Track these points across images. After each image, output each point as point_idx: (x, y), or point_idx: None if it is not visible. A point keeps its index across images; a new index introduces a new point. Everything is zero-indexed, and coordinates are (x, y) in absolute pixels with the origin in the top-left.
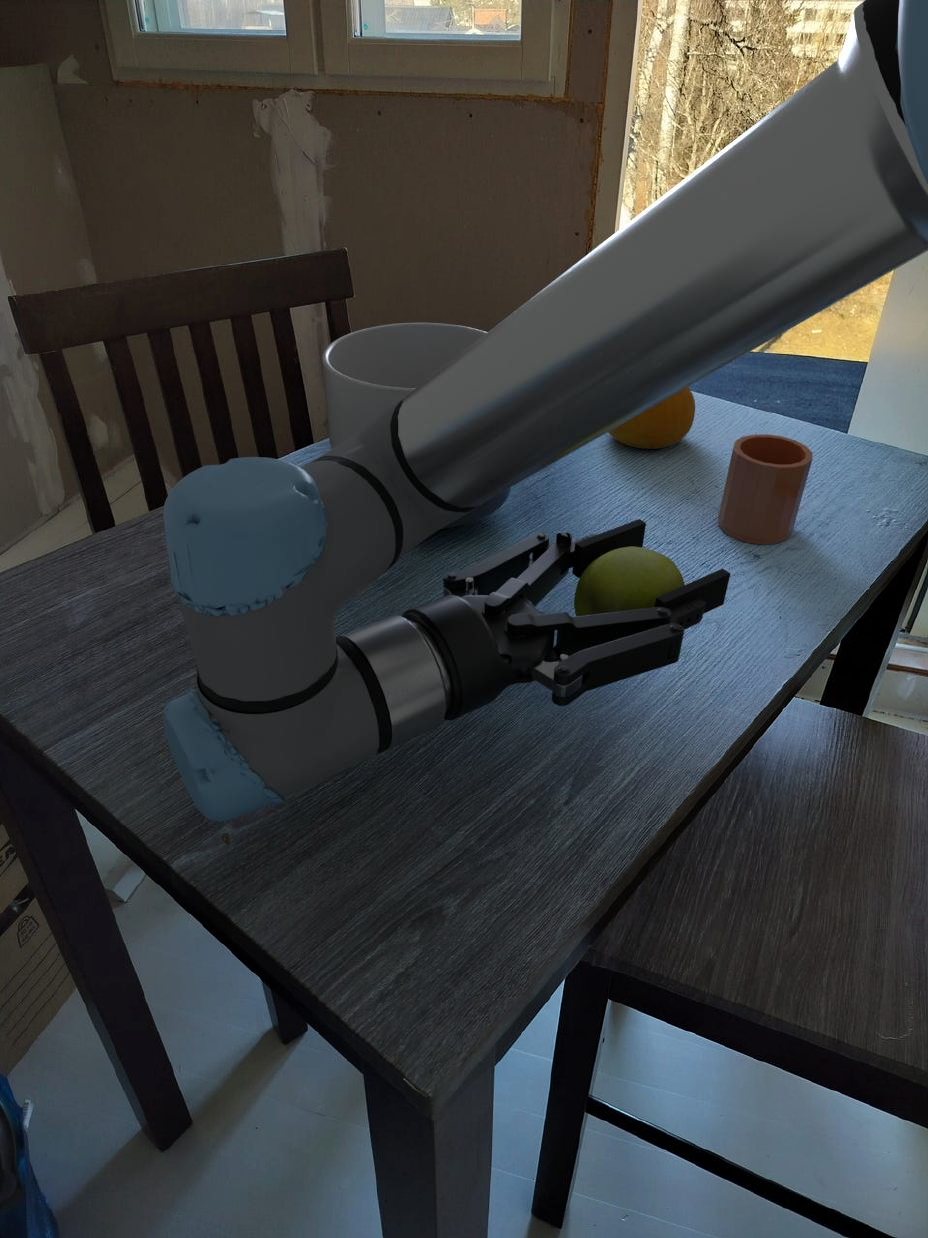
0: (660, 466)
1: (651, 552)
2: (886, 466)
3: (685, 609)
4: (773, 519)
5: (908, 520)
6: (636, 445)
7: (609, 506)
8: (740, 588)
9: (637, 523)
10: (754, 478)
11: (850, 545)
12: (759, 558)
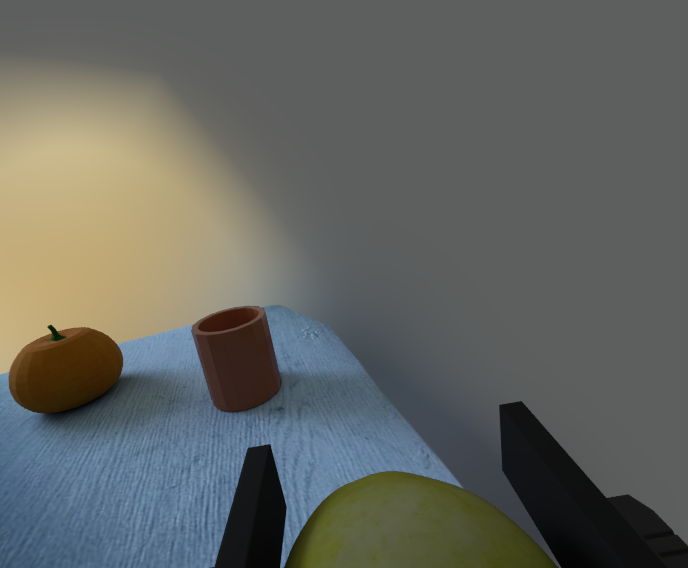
0: (118, 405)
1: (386, 493)
2: (270, 314)
3: (682, 565)
4: (268, 371)
5: (321, 327)
6: (78, 403)
7: (91, 477)
8: (306, 443)
9: (257, 459)
10: (236, 345)
11: (319, 357)
12: (284, 408)
